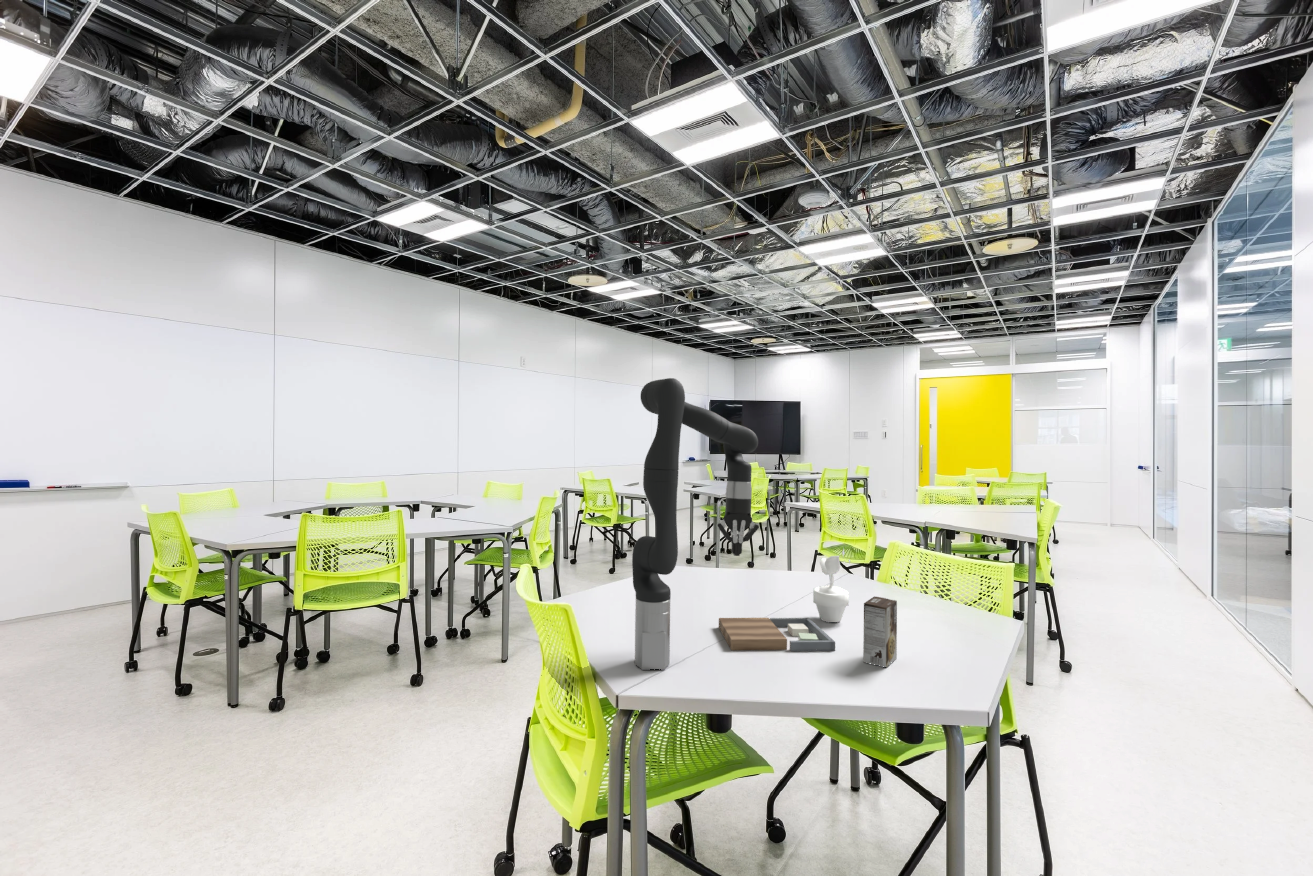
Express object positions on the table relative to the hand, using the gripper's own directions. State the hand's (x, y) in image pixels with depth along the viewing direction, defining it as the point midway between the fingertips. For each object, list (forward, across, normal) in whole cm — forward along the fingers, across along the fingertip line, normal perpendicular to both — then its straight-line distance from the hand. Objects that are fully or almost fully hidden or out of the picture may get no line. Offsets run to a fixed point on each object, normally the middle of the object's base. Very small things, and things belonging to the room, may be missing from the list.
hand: (736, 555), depth 168 cm
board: (+25, +6, +4) cm, 26 cm away
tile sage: (+23, +22, -1) cm, 32 cm away
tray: (+25, +20, +4) cm, 32 cm away
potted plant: (+24, +37, +21) cm, 49 cm away
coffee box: (+25, +37, -15) cm, 47 cm away
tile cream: (+22, +22, +8) cm, 32 cm away
